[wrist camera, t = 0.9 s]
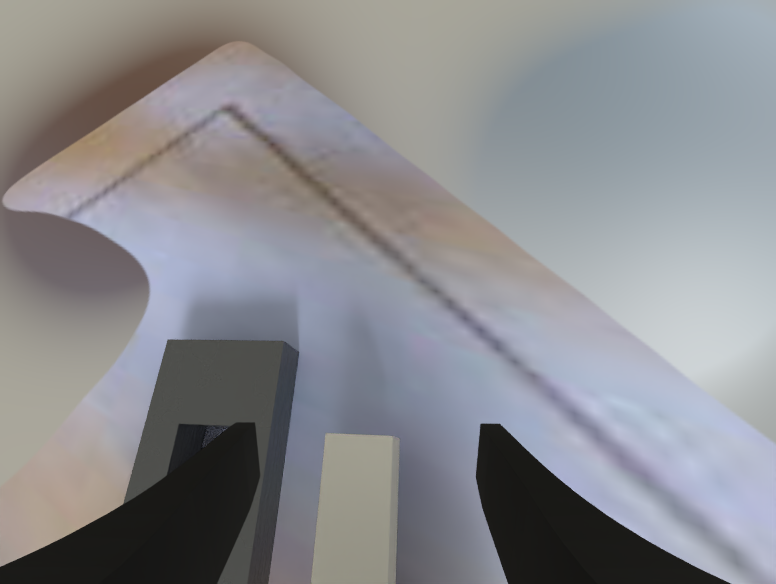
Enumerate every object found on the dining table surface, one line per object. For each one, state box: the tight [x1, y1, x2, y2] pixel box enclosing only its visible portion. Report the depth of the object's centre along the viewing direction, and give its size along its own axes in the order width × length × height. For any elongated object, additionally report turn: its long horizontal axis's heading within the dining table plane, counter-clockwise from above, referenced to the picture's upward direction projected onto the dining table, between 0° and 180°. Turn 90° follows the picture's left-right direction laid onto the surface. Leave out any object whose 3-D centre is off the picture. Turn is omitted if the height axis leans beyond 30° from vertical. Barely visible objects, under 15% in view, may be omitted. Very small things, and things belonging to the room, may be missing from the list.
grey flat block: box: [124, 340, 299, 584], centre depth 22 cm, size 20×8×3 cm, turn 178°
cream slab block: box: [311, 433, 400, 584], centre depth 19 cm, size 9×3×7 cm, turn 178°
